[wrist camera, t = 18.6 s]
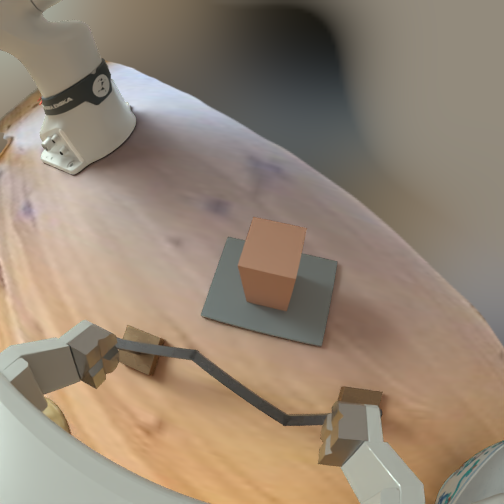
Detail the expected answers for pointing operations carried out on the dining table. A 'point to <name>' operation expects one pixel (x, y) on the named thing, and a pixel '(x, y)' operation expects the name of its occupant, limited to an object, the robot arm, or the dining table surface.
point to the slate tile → (269, 319)
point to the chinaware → (475, 478)
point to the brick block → (271, 262)
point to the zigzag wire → (222, 376)
